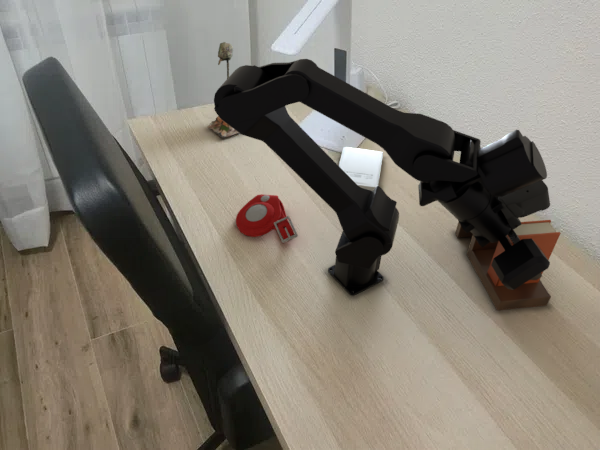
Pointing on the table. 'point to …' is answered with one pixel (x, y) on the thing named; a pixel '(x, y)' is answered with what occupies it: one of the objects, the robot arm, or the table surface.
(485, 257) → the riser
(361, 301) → the table surface
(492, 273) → the book
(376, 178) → the hard drive
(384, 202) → the robot arm
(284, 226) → the tracker holder
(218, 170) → the table surface
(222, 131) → the plant with pod
